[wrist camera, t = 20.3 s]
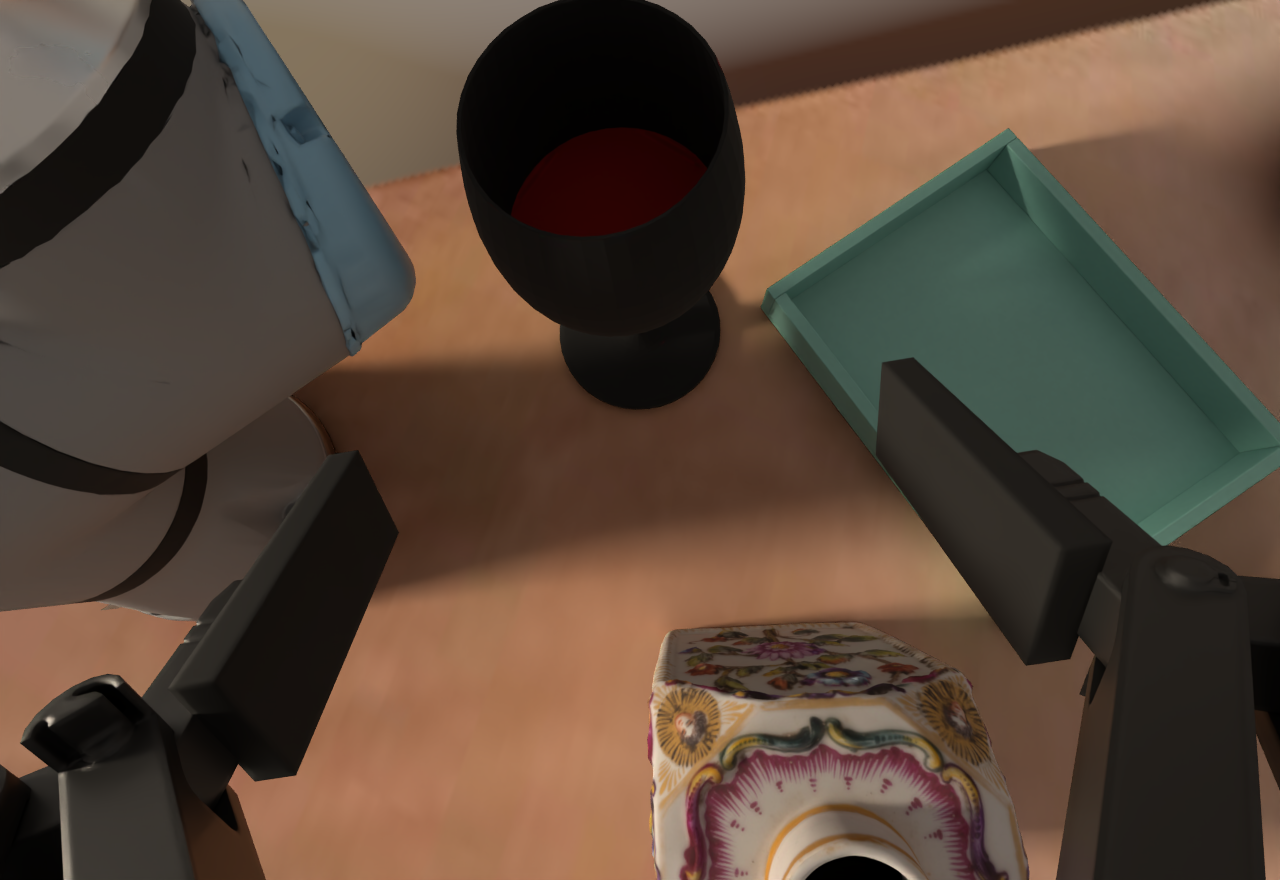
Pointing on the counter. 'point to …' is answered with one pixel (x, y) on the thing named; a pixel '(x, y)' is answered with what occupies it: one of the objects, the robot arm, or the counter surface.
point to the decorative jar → (821, 761)
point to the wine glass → (608, 187)
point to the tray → (1031, 339)
